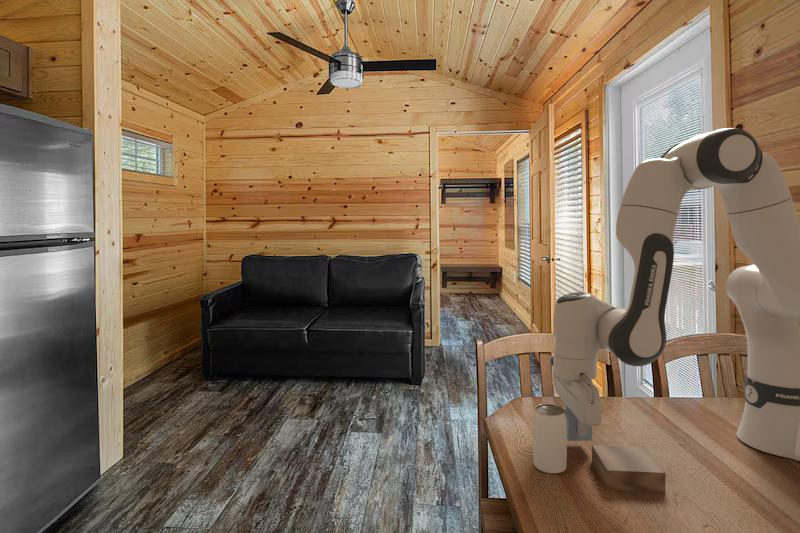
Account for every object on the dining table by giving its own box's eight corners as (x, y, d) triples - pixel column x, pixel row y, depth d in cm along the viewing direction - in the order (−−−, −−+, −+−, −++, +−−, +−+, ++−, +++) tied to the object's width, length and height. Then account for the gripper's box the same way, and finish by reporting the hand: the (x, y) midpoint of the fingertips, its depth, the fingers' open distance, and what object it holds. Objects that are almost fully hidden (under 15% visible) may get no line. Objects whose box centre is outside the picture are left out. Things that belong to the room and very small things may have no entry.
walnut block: (643, 465, 92) (643, 446, 91) (665, 494, 82) (665, 472, 81) (591, 463, 93) (591, 444, 93) (607, 491, 83) (607, 470, 83)
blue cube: (583, 430, 102) (583, 408, 101) (592, 440, 97) (591, 418, 96) (561, 430, 102) (561, 409, 101) (568, 441, 97) (568, 418, 97)
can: (556, 456, 95) (556, 401, 94) (573, 472, 89) (573, 414, 88) (527, 460, 94) (527, 404, 93) (542, 476, 88) (542, 417, 87)
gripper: (609, 382, 88) (610, 450, 89) (574, 353, 108) (575, 409, 109) (576, 383, 88) (578, 451, 89) (547, 354, 108) (549, 410, 109)
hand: (576, 428), depth 99 cm, fingers closed on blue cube, 5 cm apart
